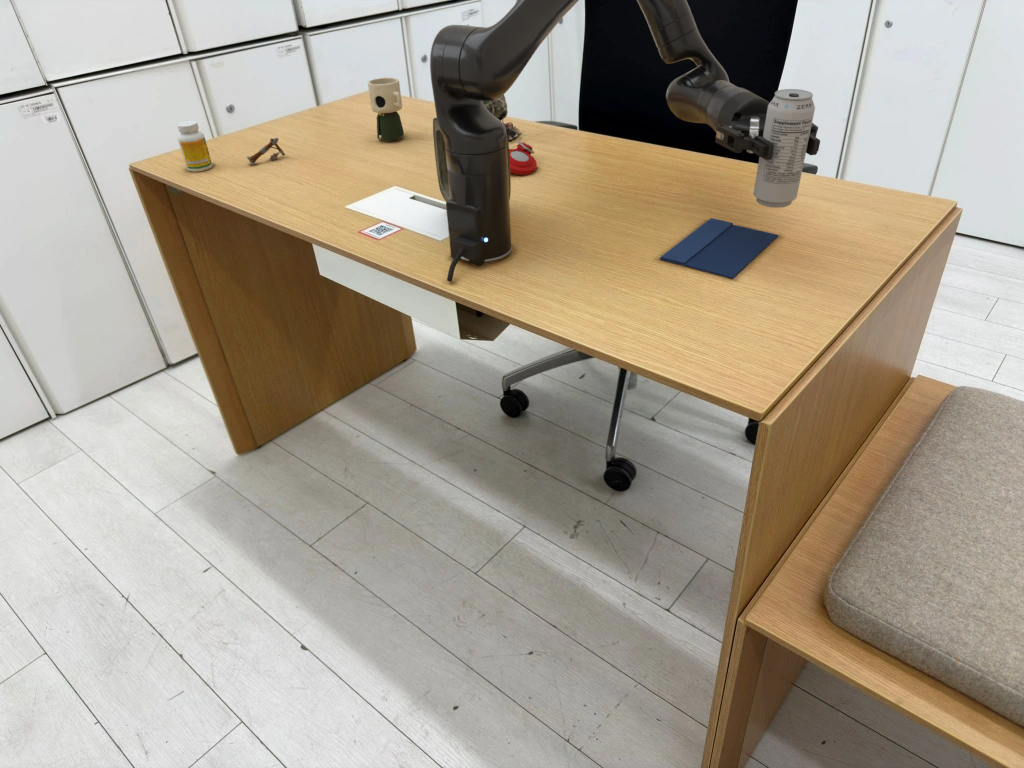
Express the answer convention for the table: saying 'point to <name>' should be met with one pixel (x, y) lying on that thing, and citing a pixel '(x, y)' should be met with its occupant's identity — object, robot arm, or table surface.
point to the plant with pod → (501, 114)
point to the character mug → (386, 107)
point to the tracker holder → (522, 159)
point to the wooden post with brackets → (264, 150)
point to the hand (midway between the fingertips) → (793, 150)
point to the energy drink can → (784, 147)
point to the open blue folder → (719, 248)
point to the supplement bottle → (193, 147)
